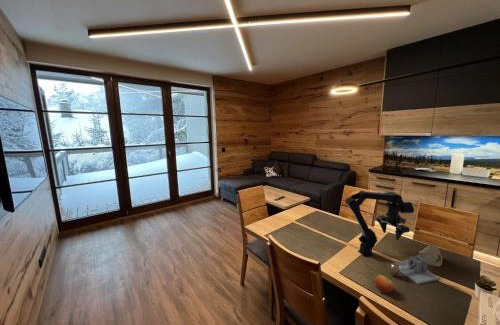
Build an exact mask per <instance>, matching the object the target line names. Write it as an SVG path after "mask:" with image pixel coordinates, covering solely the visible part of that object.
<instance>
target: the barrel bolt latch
mask: <svg viewBox="0 0 500 325" xmlns="http://www.w3.org/2000/svg"><path fill="white" fill-rule="evenodd" d="M418 255H419V254H418ZM418 255H414V256H412V255H411V256H409V257H408V259H405V260H401V261H395V262H394V263H396V264H398V265H399V266H403V265H408V264H413V263H416V267H413V268H408V269H403V270H399V272H400V273H402V274H403V275H405V276H406V277H408V278H409V279H410V280H411V281H412V282H414V283H416V284H417V285H421V284H425V283H430V282H434V281H440V280H441V279H440V277H439V276H438V275H436V274H434V273H433V272H431V271H430V270H428V265H429V264H428V261H427V260H425V259H423V258H422V257H420V256H418ZM419 260H420V261H419ZM421 261H422V262H421Z"/></svg>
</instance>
